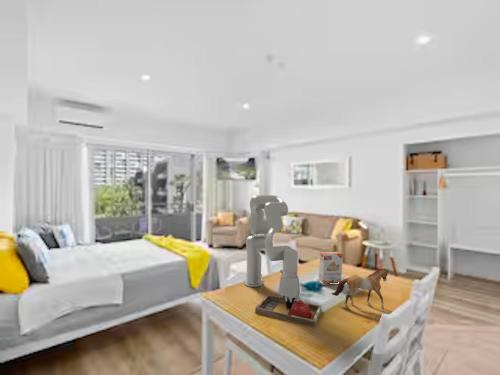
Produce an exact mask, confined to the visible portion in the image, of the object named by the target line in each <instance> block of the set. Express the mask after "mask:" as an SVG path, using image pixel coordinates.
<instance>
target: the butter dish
mask: <svg viewBox="0 0 500 375" xmlns="http://www.w3.org/2000/svg"><path fill="white" fill-rule="evenodd" d="M297 301H298V302H295V303H294V304H293V305H292V307H291V309H290V310H289V312H288V313H287V314H288V315H295V316H299V317H303V318H307V319H312V318H313V315H314V312H312V311H311V309H310V308H309V305H308V304H306V303H303V302H304V301H303V300H302V299H299V300H297Z"/></svg>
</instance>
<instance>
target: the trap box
mask: <svg viewBox="0 0 500 375" xmlns="http://www.w3.org/2000/svg"><path fill="white" fill-rule="evenodd" d="M289 300H290V298H289ZM298 301H299V300H294V301H292V305H293V304H294V303H295V302H298ZM279 303H281V304H285V305H286V301H285V299H284V298H283V297H281V296H277V295H276V296H275V295H271V294H267V295H266V296H265V297H264V298H263V299H262V300H261V301H260V302H259V303H258V304H257V306H255V314H256V313H257V314H259V315H263V316H268V317H271V318H274V319H275V318H276V319H280V320H285V321H288V322H292V323H295V324H299V325H303V326H307V327H311V328H315V327H316V324H317V321H318V320H319V316H320V315H321V313H322V305H321V304H316V303H311V302H307V301H303V303H306V304H308V305H309V308H310V311H316V312H315V314H314V317H313V319H312V318H311V319H307V318H303V317H299V316H295V315H288V313H283V312H279V311H275V310H274V309H275V308H276V306H277V305H278V304H279Z"/></svg>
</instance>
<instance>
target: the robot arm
mask: <svg viewBox="0 0 500 375" xmlns="http://www.w3.org/2000/svg"><path fill="white" fill-rule="evenodd" d="M249 207H250V209H249V210H250V220H249V231H250V234H253V235H250V236H248V237H247V238H246V240H245V246H246V276H245V277H246V279H244V281H243V284H244V285H245V286H246V287H250V288H258V287H259V288H260V287H262V286H263V285H264V281H263V280H262V276H263V273H262V255H261V253H260V251H261V250H265V252H266V256H267V258H268V260H269V261H271V262H278V261H282V269H280V270H279V272H280V273H281V275H280V278H279V285H278V297H281V298H284V299H285V301H286V304H285V307H286V310H289V311H290V310H291V307H292V301H294V300H295V301H299V300H301V299H300V294H301V293H300V289H301V288H300V287H301V286H300V279H299V276H298V268H299V266H298V264H299V263H298V262H299V252H298V250H296V249H294V248H293V247H291V246H289V245H279V246H278V245H276V246H274V243H273V241H274V240H273V238H274V235H275V234H277V233H278V232H280V231H282V229H284V223H283V220H282V217H285V216H287V215H288V213H289V207H288V205H287V203H286V202H285V201H284V200H283V199H281V197H279V196H277V195H273V194H270V195H269V194H267V195H266V194H260V195H259V194H258V195H253V196H251V198H250V199H249ZM289 299H290V300H289Z"/></svg>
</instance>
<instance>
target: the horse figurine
mask: <svg viewBox="0 0 500 375" xmlns="http://www.w3.org/2000/svg"><path fill="white" fill-rule="evenodd" d="M388 272H389V269H386V268H379V269H377V270H375V271H374V272H372V273H370V274H369V275H368V276H361V275H357V274H353V275H350V276H348V277H346V278H344V279H341V281H340V282H339V284H337V285H336V289H335V291H334V292H331V295H332V296H335V297H337V296H339V295H340V294H341V293H342V292H343V291H344V289H345V285H346V284H347V287H348V291H347V295H346V296H345V302H344V307H345V308H346V309H349V305H348V301H349V300H350V302H349V303H350V304H351V305H352V306H354V299H353V297H352V295H353V294H354V292H356V291H357V290H358V289H360V290H364V291H368V292H367V299H366V303H367V306H368V307H371V306H372V305H371V303H370V302H369V301H370V297H371V293H372V291H374V292H375V293H376V294H377V296H378V297H379V298H380V302H381V305H380V307H381V308H382V309H384V304H385V303H384V300H383V296H382V292H381V288H382V287H381V279H382V281H383V282H386V281H388V280H387V279H388V277H387V276H388Z"/></svg>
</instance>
